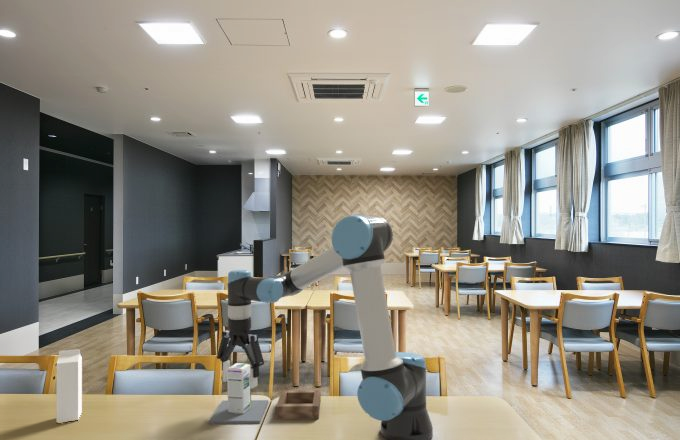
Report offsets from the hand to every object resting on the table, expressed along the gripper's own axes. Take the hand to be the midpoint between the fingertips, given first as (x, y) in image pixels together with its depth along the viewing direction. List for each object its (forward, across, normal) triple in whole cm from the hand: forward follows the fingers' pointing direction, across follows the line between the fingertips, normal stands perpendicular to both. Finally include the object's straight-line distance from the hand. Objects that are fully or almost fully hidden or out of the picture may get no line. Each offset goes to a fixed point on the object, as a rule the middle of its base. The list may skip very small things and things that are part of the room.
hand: (240, 383), depth 143 cm
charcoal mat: (+9, 0, 0) cm, 9 cm away
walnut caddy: (+9, -16, -11) cm, 22 cm away
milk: (+10, +45, +30) cm, 55 cm away
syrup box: (+9, 0, 0) cm, 9 cm away
